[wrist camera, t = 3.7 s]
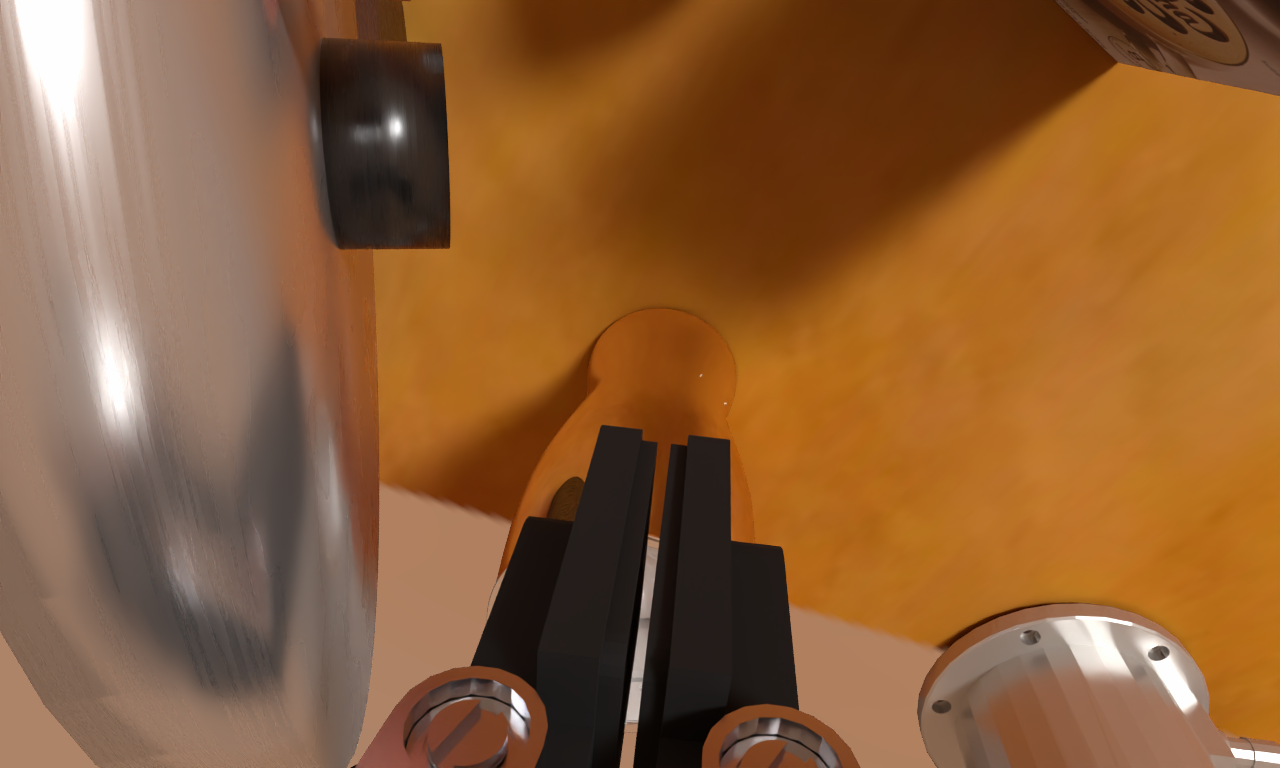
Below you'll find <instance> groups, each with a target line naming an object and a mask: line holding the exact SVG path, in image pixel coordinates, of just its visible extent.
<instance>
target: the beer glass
mask: <svg viewBox="0 0 1280 768" xmlns="http://www.w3.org/2000/svg"><path fill="white" fill-rule="evenodd" d="M736 384H737V373H736V366H735V362H734V359H733V356H732V354H731V351H730V349H729V348H728V346H727V344H726V342H725V341H724V340H723V338H722V337H721V336H720V335H719V333H718V332H717V331H716V330H715V329H714V328H712V327H711V326H710V325H709V324H707V323H706V322H705V321H703V320H701V319H700V318H698V317H696V316H694V315H691V314H689V313H686V312H682V311H679V310H674V309H666V308H653V309H645V310H641V311H637V312H634V313H631V314H629V315H627V316H625V317H623V318H621V319H619V320H618V321H616V322H615V323H614V324H612V325H611V326H610V327H609V328H608V329H607V330H606V331H605V332H604V333H603V334H602V335H601V337H600V338H599V339H598V341H597V342H596V344H595V346H594V348H593V350H592V353H591V356H590V360H589V364H588V371H587V389H588V395H587V396H586V397H585V399H584V400H583V401H582V402H581V404H580V405H579V406H578V407H577V408H576V409H575V411H574V412H573V413H572V414H571V415H570V417H569V418H568V419H567V420H566V422H565V423H564V424H563V425H562V427H561V428H560V429H559V430H558V431H557V433H556V434H555V436H554V437H553V439H552V440H551V442H550V443H549V445H548V446H547V448H546V449H545V451H544V452H543V454H542V455H541V457H540V458H539V460H538V462H537V463H536V465H535V468H534V470H533V472H532V474H531V476H530V478H529V480H528V482H527V485H526V487H525V489H524V491H523V493H522V496H521V499H520V501H519V504H518V507H517V510H516V513H515V516H514V519H513V521H512V524H511V527H510V531H509V535H508V538H507V542H506V545H505V549H504V553H503V557H502V561H501V565H500V569H499V573H498V577H497V580H496V584H495V586H494V588H493V590H492V593H491V596H490V599H489V603H488V609H487V620H488V618H489V615H490V612H491V610H492V607H493V604H494V602H495V599H496V596H497V594H498V591H499V588H500V586H501V583H502V580H503V578H504V575H505V572H506V570H507V567H508V564H509V561H510V559H511V556H512V553H513V551H514V548H515V545H516V543H517V540H518V537H519V535H520V532H521V529H522V527H523V524H524V522H525V520H526V518H527V517H529V516H534V517H542V518H550V519H559V520H567V521H574V519H575V516H576V512H577V508H578V505H579V501H580V498H581V494H582V491H583V487H584V484H585V480H586V477H587V473H588V469H589V466H590V462H591V459H592V455H593V452H594V448H595V445H596V441H597V437H598V434H599V430H600V427H601V425H609V426H618V427H627V428H635V429H643V438H642V440H643V441H652V442H658V446H657V456H656V466H655V476H654V486H653V495H652V505H651V515H650V525H649V534H648V544H647V554H646V564H645V573H644V583H643V593H642V602H641V611H640V620H639V628H638V635H637V642H636V650H635V657H634V664H633V672H632V679H631V686H630V694H629V701H628V708H627V716H626V723H625V730H624V732H626V733H637V728H638V719H639V710H640V701H641V692H642V683H643V674H644V665H645V656H646V648H647V639H648V631H649V623H650V614H651V606H652V598H653V589H654V581H655V573H656V564H657V556H658V548H659V540H660V531H661V523H662V515H663V506H664V498H665V490H666V481H667V473H668V465H669V456H670V448H671V444H678V445H686V446H687V442H688V435H695V436H704V437H713V438H721V439H730V457H731V541H738V542H746V543H755V530H754V520H753V510H752V500H751V495H750V491H749V487H748V483H747V479H746V475H745V471H744V467H743V464H742V461H741V458H740V455H739V453H738V450H737V447H736V444H735V441H734V439H733V436H732V433H731V431H730V428H729V425H728V422H727V419H726V418H727V416H728V413H729V411H730V408H731V406H732V403H733V400H734V396H735V392H736Z"/></svg>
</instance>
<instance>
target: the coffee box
mask: <svg viewBox="0 0 1280 768" xmlns="http://www.w3.org/2000/svg"><path fill="white" fill-rule="evenodd" d="M1055 1H1056V2H1057V3H1058V4H1059V5H1060V6H1061V7H1062V8H1063V9H1064V10H1065V11H1066V12H1067V13H1068V14H1069V15H1070V16H1071V17H1072V18H1073V19H1074V20H1075V21H1076V22H1077V23H1078V24H1079V25H1080V26H1081V27H1082V28H1083V29H1084V30H1085V31H1086V32H1087V33H1088V34H1089V35H1090V36H1091V37H1092V38H1093V39H1094V40H1095V41H1096V42H1097V43H1098V44H1099V45H1100V46H1101V47H1102V48H1103V49H1104V50H1105V51H1107V52H1108V53H1109V54H1110V55H1111V56H1112V57H1113V58H1114V59H1115V60H1116V61H1117V62H1119V63H1123V64H1127V65H1133V66H1138V67H1142V68H1146V69H1150V70H1156V71H1160V72H1166V73H1171V74H1175V75H1179V76H1184V77H1190V78H1195V79H1198V80H1204V81H1210V82H1215V83H1219V84H1224V85H1229V86H1234V87H1239V88H1244V89H1249V90H1255V91H1259V92H1264V93H1268V94H1273V95H1277V96H1280V0H1055Z"/></svg>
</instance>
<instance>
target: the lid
mask: <svg viewBox="0 0 1280 768" xmlns="http://www.w3.org/2000/svg"><path fill="white" fill-rule="evenodd" d="M398 1H411V0H398ZM449 248H450V184H449V156H448V133H447V113H446V96H445V80H444V67H443V56H442V48H441V44H439V43H420V42H401V41H382V40H364V39H358V32H357V20H356V9H355V0H0V631H1V633H2V635H3V637H4V638H5V640H6V642H7V643H8V645H9V646H10V648H11V650H12V652H13V653H14V655H15V657H16V658H17V660H18V662H19V663H20V665H21V667H22V668H23V670H24V672H25V673H26V675H27V677H28V679H29V680H30V682H31V684H32V685H33V687H34V689H35V690H36V692H37V694H38V695H39V697H40V698H41V700H42V702H43V704H44V705H45V706H46V707H47V709H48V710H49V711H50V712H51V713H52V714H53V716H54V717H55V718H56V719H57V720H58V721H59V723H60V724H61V725H62V726H63V727H64V728H65V729H66V730H67V732H68V733H69V734H70V735H71V736H72V737H73V739H74V740H75V741H76V742H77V743H78V744H79V746H80V747H81V748H82V749H83V750H84V751H85V753H86V754H87V755H88V756H89V757H90V758H91V760H93V762H94V763H95V764H96V765H97V766H99V767H100V768H347V766H348V764H349V763H350V760H351V759H352V757H353V755H354V754H355V750H356V747H357V744H358V740H359V737H360V733H361V730H362V725H363V720H364V715H365V710H366V704H367V699H368V691H369V683H370V675H371V667H372V656H373V645H374V633H375V616H376V600H377V577H378V576H377V575H378V543H379V542H378V541H379V413H378V371H377V339H376V313H375V290H374V268H373V249H449Z"/></svg>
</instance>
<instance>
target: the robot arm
mask: <svg viewBox="0 0 1280 768" xmlns="http://www.w3.org/2000/svg"><path fill="white" fill-rule="evenodd" d="M642 438H643V429H635V428H627V427H618V426H609V425H601V427H600V430H599V434H598V437H597V441H596V445H595V448H594V452H593V455H592V459H591V462H590V466H589V469H588V473H587V477H586V480H585V484H584V487H583V491H582V494H581V498H580V501H579V505H578V508H577V512H576V516H575V519H574V521H567V520H559V519H550V518H542V517H534V516H529V517H527V518H526V520H525V522H524V524H523V527H522V529H521V532H520V535H519V537H518V540H517V543H516V545H515V548H514V551H513V553H512V556H511V559H510V561H509V564H508V567H507V570H506V572H505V575H504V578H503V580H502V583H501V586H500V588H499V591H498V594H497V596H496V599H495V602H494V604H493V607H492V610H491V612H490V615H489V618H488V620H487V623H486V626H485V629H484V631H483V634H482V637H481V639H480V642H479V645H478V647H477V650H476V653H475V655H474V658H473V661H472V663H471V666H470V667H461V668H453V669H450V670H447V671H444V672H442V673H439V674H436V675H433V676H430V677H429V678H427V679H426V680H424V681H423V682H421V683H420V684H418V685H417V686H415V687H413V688H412V689H410V690H409V692H408V693H407V694H406V695H405V696H404V697H403V698H402V700H401V701H400V702H399V703H398V704H397V705H396V706H395V708H394V709H393V711H392V712H391V714H390V715H389V717H388V718H387V720H386V721H385V723H384V724H383V726H382V728H381V729H380V730H379V732H378V733H377V735H376V737H375V738H374V740H373V741H372V743H371V744H370V746H369V747H368V749H367V750H366V752H365V753H364V755H363V756H362V758H361V759H360V761H359V763H358V764H357V765H355V766H353V767H351V768H619V767H620V759H621V751H622V744H623V738H624V730H625V723H626V716H627V708H628V701H629V694H630V686H631V679H632V672H633V664H634V657H635V650H636V642H637V635H638V628H639V620H640V611H641V602H642V593H643V583H644V573H645V564H646V554H647V544H648V534H649V525H650V515H651V505H652V495H653V486H654V476H655V466H656V456H657V446H658V442H652V441H643V440H642ZM917 713H918V720H919V726H920V731H921V734H922V738H923V741H924V744H925V747H926V750H927V753H928V754H929V756H930V757H931V759H932V761H933V762H934V764H935V765H936V767H937V768H1280V746H1279V745H1278V744H1277V743H1276V742H1274V741H1267V740H1259V739H1251V738H1243V737H1240V738H1231V737H1226V735H1225V734H1224V733H1223V732H1222V731H1220V730H1219V729H1217V728H1216V726H1215V725H1214V723H1213V722H1212V720H1211V719H1210V717H1209V693H1208V689H1207V685H1206V682H1205V678H1204V676H1203V674H1202V673H1201V671H1200V669H1199V668H1198V666H1197V664H1196V663H1195V661H1194V660H1193V658H1192V656H1191V655H1190V654H1189V652H1188V651H1187V650H1186V649H1185V647H1184V646H1183V645H1182V644H1181V643H1180V641H1179V640H1178V639H1177V638H1176V637H1175V636H1173V635H1172V634H1171V633H1169V632H1168V631H1167V630H1165V629H1164V628H1163V627H1161V626H1160V625H1159V624H1157V623H1155V622H1152V621H1150V620H1148V619H1146V618H1144V617H1142V616H1140V615H1138V614H1135V613H1132V612H1128V611H1125V610H1121V609H1117V608H1114V607H1109V606H1101V605H1093V604H1084V603H1078V604H1052V605H1046V606H1040V607H1034V608H1027V609H1023V610H1020V611H1017V612H1014V613H1011V614H1007V615H1004V616H1001V617H998V618H996V619H994V620H992V621H990V622H988V623H986V624H983V625H981V626H979V627H977V628H975V629H973V630H972V631H971V632H969V633H968V634H966V635H965V636H963V637H962V638H960V639H959V640H957V641H956V642H955V643H953V644H952V645H951V646H950V647H949V648H948V649H947V650H946V651H945V652H944V653H943V654H942V655H941V656H940V657H939V658H938V659H937V661H936V662H935V664H934V665H933V667H932V668H931V670H930V671H929V673H928V674H927V676H926V678H925V680H924V683H923V685H922V688H921V691H920V693H919V700H918V711H917ZM633 768H860V766H859V764H858V762H857V760H856V758H855V757H854V755H853V753H852V751H851V749H850V748H849V746H848V745H847V744H846V743H845V742H844V741H843V740H842V739H841V738H840V737H839V735H838V734H836V732H835V731H834V730H833V729H831V728H830V727H828V726H827V725H825V724H824V723H822V722H821V721H820V720H818V719H817V718H815V717H814V716H811V715H809V714H806V713H804V712H801V711H799V705H798V695H797V684H796V674H795V664H794V654H793V644H792V634H791V624H790V613H789V603H788V593H787V583H786V572H785V562H784V555H783V550H782V548H781V547H779V546H771V545H763V544H755V543H746V542H738V541H731V457H730V439H721V438H713V437H704V436H695V435H688V442H687V446H686V445H678V444H671V448H670V456H669V465H668V473H667V481H666V490H665V498H664V506H663V515H662V523H661V531H660V540H659V548H658V556H657V564H656V573H655V581H654V589H653V598H652V606H651V614H650V623H649V631H648V639H647V648H646V656H645V665H644V674H643V683H642V692H641V701H640V710H639V719H638V728H637V737H636V746H635V755H634V765H633Z"/></svg>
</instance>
